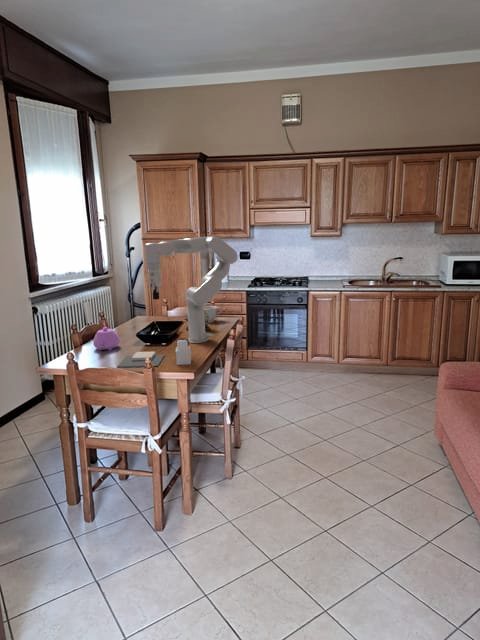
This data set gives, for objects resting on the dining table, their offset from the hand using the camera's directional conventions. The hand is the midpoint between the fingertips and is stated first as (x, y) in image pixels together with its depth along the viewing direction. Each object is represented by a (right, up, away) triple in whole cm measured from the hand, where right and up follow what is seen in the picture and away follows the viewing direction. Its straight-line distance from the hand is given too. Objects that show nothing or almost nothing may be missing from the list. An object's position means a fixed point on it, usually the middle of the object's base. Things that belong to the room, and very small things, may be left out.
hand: (156, 299), depth 244 cm
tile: (-4, -29, -11) cm, 31 cm away
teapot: (-29, -28, +5) cm, 41 cm away
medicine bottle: (+18, -33, -24) cm, 44 cm away
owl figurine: (+19, -18, +41) cm, 48 cm away
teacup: (+26, -13, +62) cm, 68 cm away
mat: (-4, -33, -20) cm, 38 cm away
